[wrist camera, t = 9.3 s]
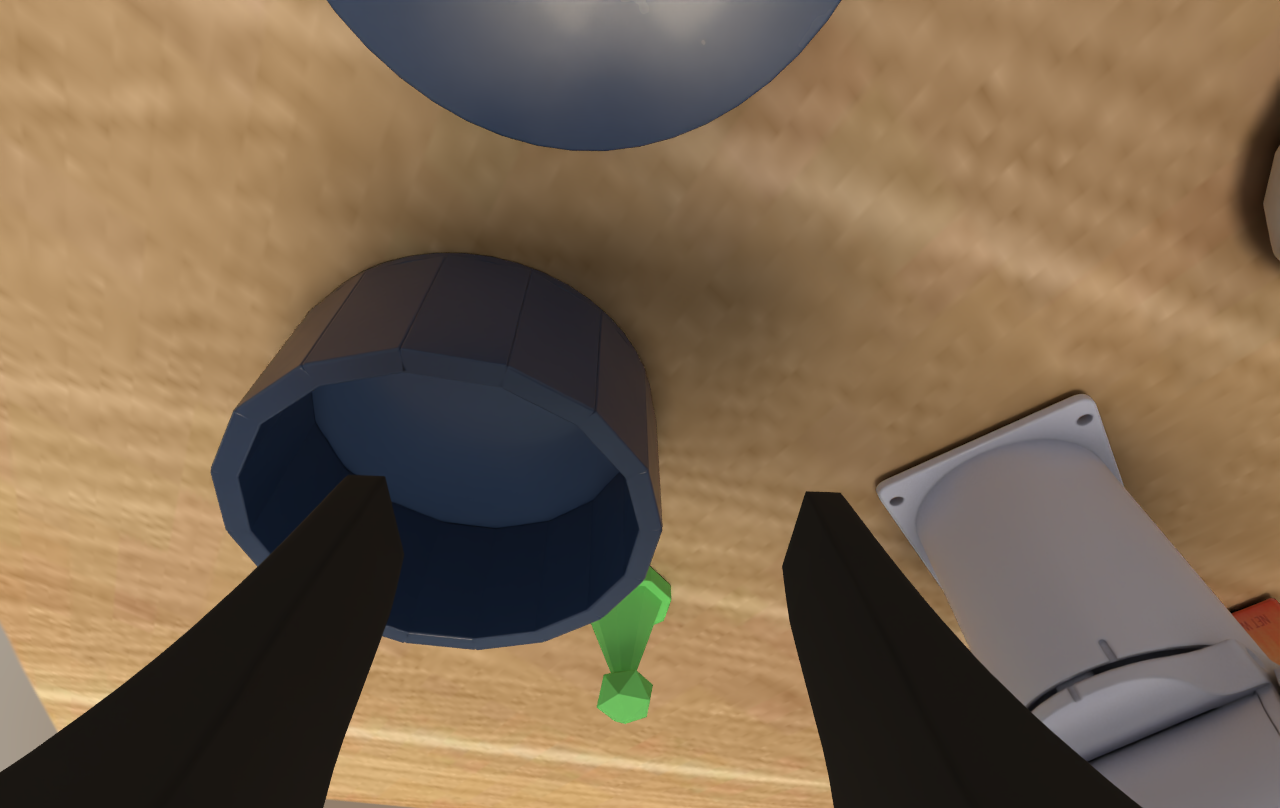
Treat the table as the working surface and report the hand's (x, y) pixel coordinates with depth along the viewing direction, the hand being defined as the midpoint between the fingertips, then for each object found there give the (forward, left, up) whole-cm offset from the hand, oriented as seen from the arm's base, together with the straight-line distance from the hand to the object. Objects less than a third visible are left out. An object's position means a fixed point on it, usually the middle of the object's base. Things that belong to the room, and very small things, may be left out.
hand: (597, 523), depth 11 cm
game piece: (-13, +9, -11) cm, 19 cm away
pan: (-2, +7, -10) cm, 13 cm away
